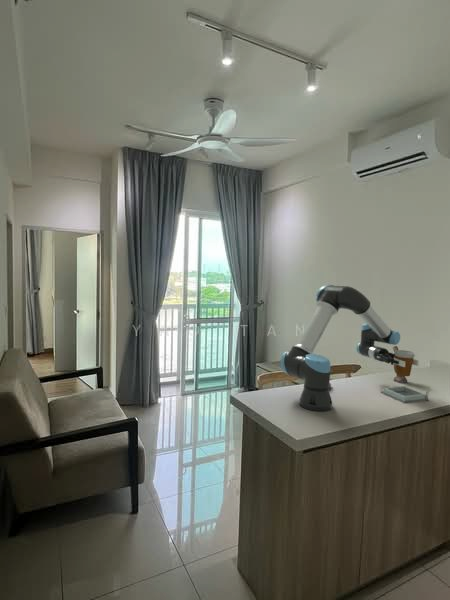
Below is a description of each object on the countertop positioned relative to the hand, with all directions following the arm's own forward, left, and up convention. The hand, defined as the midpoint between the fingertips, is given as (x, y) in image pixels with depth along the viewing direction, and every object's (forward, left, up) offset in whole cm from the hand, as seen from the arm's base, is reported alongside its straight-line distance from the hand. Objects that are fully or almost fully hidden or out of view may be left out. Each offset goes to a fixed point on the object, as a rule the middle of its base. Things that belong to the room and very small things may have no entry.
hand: (411, 363), depth 185 cm
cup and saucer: (-34, +29, -19) cm, 48 cm away
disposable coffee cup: (0, +5, -7) cm, 9 cm away
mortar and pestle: (+20, +28, -18) cm, 39 cm away
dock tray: (+1, +4, -18) cm, 19 cm away
